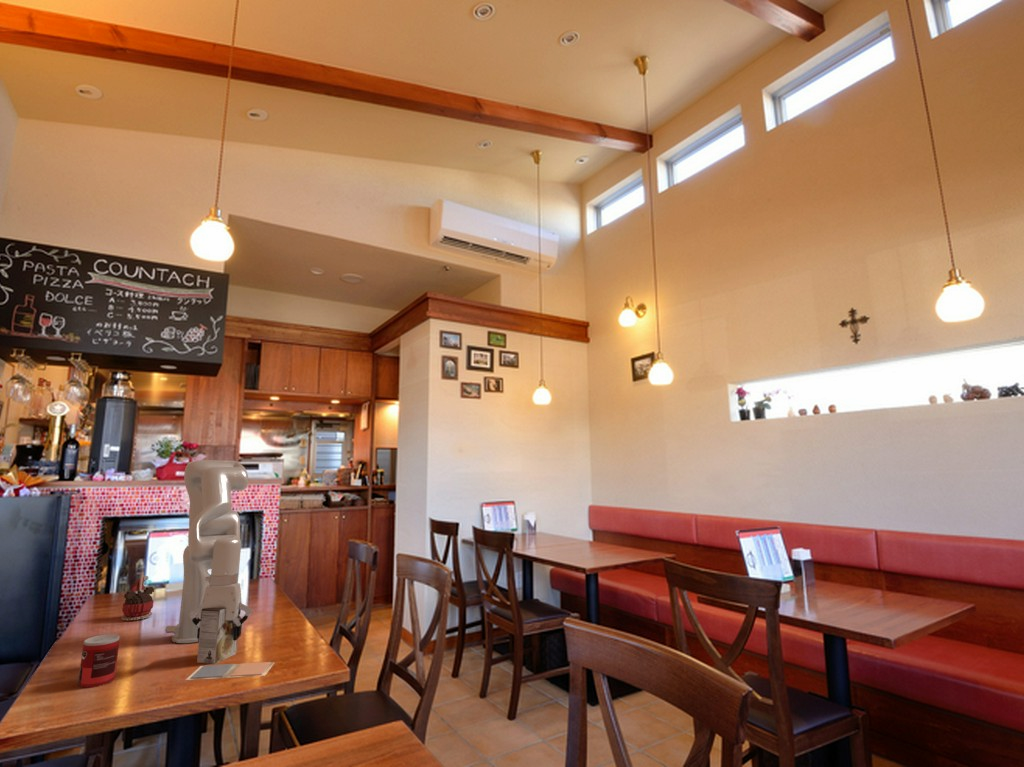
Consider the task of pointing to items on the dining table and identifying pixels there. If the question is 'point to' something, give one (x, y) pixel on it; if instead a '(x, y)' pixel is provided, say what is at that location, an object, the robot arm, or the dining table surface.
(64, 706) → the dining table surface
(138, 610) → the cake
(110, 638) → the canned food
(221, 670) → the slate pad
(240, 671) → the terracotta pad
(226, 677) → the serving board
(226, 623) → the coffee box
